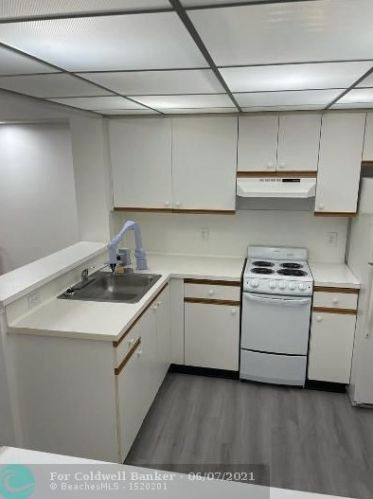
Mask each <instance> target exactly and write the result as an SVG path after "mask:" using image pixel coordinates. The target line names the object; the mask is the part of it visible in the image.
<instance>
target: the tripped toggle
mask: <svg viewBox="0 0 373 499" xmlns="http://www.w3.org/2000/svg"><path fill="white" fill-rule="evenodd" d="M124 268H125V267H124V266H120V267H119V273H124Z"/></svg>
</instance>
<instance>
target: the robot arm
mask: <svg viewBox="0 0 373 499" xmlns="http://www.w3.org/2000/svg"><path fill="white" fill-rule="evenodd" d="M128 231H133V232H134V233H133V234H134V240H135V242H134V243H135V248H134V257H135V265H136V266H135V269H136V270H147V269H148V264H147V263H148V262H147V261H148V260H147V253H146V250H145V249H144V248H143V242H142V241H143V240H142V231H141V227H140V224H139V223H138V222H137V221H132V220H127V221H126V223H124V225H123V228H122V229H121V230H120V231H119V233H118V234H116V235H115V236H114V237H113V238H112V240H111V241H109V242H107V245H106V246H107V248H108V257H109V258H108V261H104V262H103V265H104V266H105V265H109V267H110V269H111V273H112V274H113V273H114V270H115V268H116V265H119V264H120V263H121V264H122V261H116V254H117V248H118V245H119V244H120V242H121V241H122V239H123V237H124V236H125V234H126V233H127V232H128Z"/></svg>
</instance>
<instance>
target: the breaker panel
mask: <svg viewBox="0 0 373 499" xmlns="http://www.w3.org/2000/svg"><path fill="white" fill-rule="evenodd" d="M119 267H121V265H119V264H116V267H115V270H114V273H112V276H113V277H114V276H118V277H119V276H133V273H134V272H133V271H134V267H124V273H119Z"/></svg>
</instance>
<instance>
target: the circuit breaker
mask: <svg viewBox="0 0 373 499" xmlns="http://www.w3.org/2000/svg"><path fill="white" fill-rule="evenodd" d="M116 261H122V264H121V263H120V264H118V265H120V266H122V267H124V266H125V267H127V266H129V265H132V259H131V247H126V246H125V247H121V248H118V253H117V252H116Z"/></svg>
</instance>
